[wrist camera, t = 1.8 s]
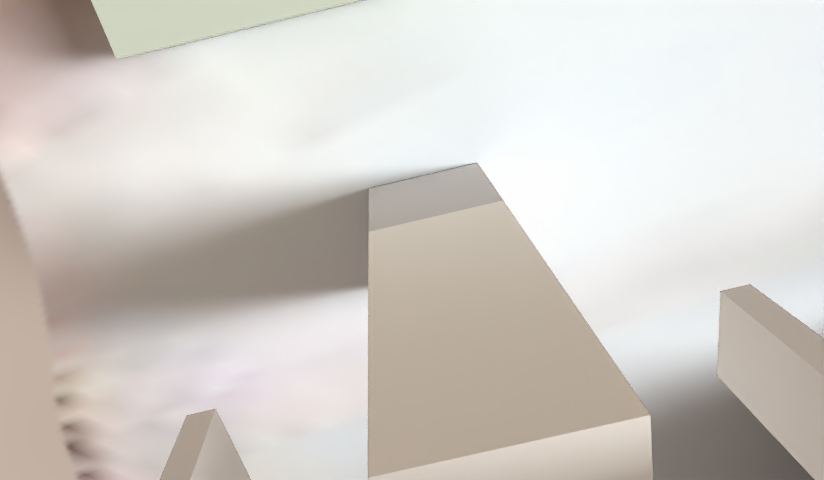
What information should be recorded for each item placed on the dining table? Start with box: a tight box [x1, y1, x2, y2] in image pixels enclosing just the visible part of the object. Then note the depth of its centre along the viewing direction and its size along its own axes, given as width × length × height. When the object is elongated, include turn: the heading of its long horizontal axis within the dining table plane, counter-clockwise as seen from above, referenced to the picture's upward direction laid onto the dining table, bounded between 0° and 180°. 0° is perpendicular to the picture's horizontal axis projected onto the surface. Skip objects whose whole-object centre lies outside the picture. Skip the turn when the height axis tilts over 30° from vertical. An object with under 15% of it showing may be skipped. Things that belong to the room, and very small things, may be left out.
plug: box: [368, 163, 653, 480], centre depth 17 cm, size 5×5×16 cm
